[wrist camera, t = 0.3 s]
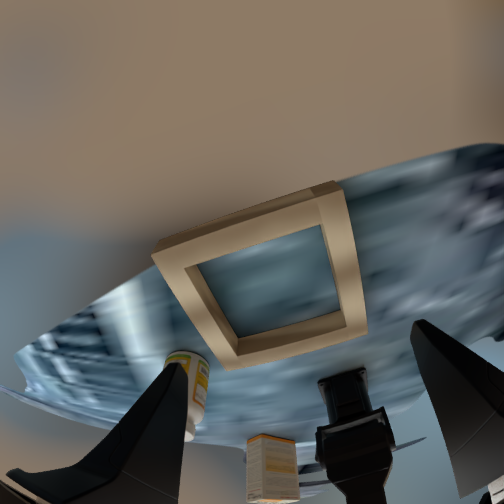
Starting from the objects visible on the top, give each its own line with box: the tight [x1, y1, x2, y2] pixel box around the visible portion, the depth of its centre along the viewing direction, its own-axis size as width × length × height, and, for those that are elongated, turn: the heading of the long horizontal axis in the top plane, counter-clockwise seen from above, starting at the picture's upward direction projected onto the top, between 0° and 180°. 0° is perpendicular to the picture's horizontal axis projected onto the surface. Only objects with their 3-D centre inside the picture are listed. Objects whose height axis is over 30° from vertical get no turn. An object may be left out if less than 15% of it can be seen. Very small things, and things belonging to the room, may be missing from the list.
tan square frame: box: [151, 180, 368, 371], centre depth 24 cm, size 15×15×2 cm
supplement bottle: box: [163, 351, 209, 441], centre depth 27 cm, size 5×5×10 cm
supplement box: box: [247, 434, 300, 504], centre depth 37 cm, size 8×5×13 cm, turn 54°
